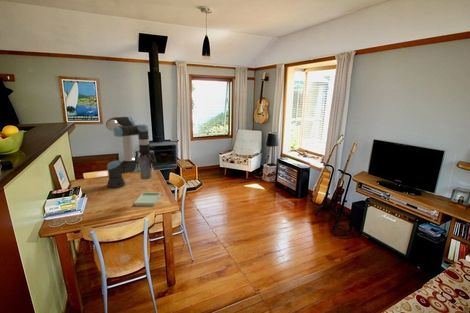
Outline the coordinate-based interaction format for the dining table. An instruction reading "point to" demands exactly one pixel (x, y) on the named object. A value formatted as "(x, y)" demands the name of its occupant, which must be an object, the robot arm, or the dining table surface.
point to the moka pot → (144, 166)
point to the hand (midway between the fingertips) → (146, 171)
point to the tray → (147, 199)
